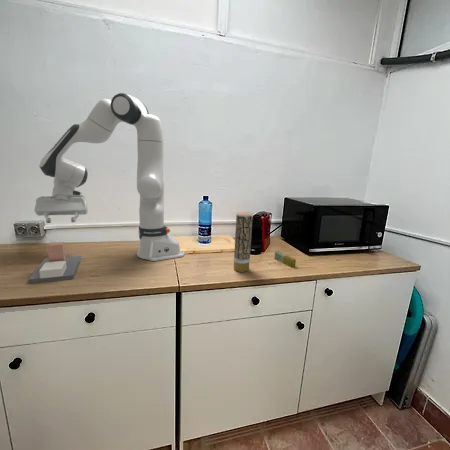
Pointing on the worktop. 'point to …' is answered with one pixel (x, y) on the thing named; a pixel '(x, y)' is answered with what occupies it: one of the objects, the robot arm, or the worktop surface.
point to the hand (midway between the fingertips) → (60, 222)
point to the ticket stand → (56, 270)
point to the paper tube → (242, 241)
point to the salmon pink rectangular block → (56, 251)
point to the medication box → (285, 259)
